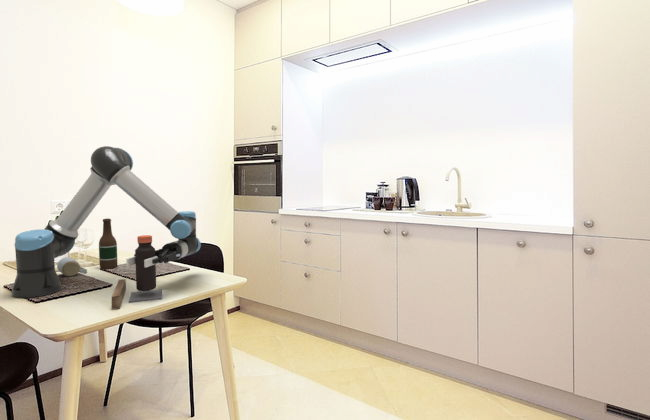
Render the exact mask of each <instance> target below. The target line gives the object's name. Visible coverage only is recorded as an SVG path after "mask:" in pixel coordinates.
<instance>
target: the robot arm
mask: <svg viewBox="0 0 650 420" xmlns="http://www.w3.org/2000/svg"><path fill="white" fill-rule="evenodd" d="M90 163H91V164H90V165H91V167H90V173H91V174H90V175H89V177H88V178H87V179H86V180H85V182H84V183H83V184H82V186H81V187H80V188H79V189H78V191H77V192H76V194H75V195H74V196H73V197H72V199H71V200H70V201H69V202H68V204H67V206H66V207H65V208H64V209H63V211H62V212H61V213H60V214H59V216H58V217H57V219H54V220H50V221H49V222H48V223H47V225H46V226H45V227H44V229H43V228H42V229H32V230H26V231H22V232H20V233H18V234H16V236H15V239H14V249H15V250H14V251H15V264H16V265H15V266H16V277H15V280H14V282H13V285H12V288H11V295H12V297H14V298H22V299H23V298H24V299H25V298H37V297H36V296H38V297H43V295H44V296H47V294H48V295H51V293H52V294H55V293H57V292H59V291H60V290H62V283H61V281H60V278H59V276H58V273H57V271H56V267H55V266H56V265H55V259H56V258H58V257H62V256H64V255H66V254H68V253H69V252H70V251H71V250H72V249H73V248H74V246H75V245H76V239H77V238H78V237H79V232H78V230H79V229H80V227H81V226H82V225H83V224H84V222H85V221H86V220H87V218H88V217H89V215H91V213H92V212H93V210H94V209H95V208H96V206H97V205H98V204H99V203H100V201H101V200H102V199H103V197H104V196H105V195H106V193H107V192H108V190H109V189H110V188H111V186H117V187H118V188H120V189H121V190H122V191H123V192H125V194H127V195H128V196H129V197H130V198H131V199H133V200H134V201H135V202H136V203H138V204H139V205H140V206H141V207H142V208H143V209H144V210H146V211H147V212H148V213H149V214H150V215H151V216H153V217H154V218H155V219H156V220H157V221H158V222H159V223H161V224H162V225H163V226H164V227H166V229H168V230H169V232H170V234H171V236H172V237H173V238H175V239H177V240H176V241H172V242H169V243H165V244H164V245H163V246H162V247H161V248H159V249H155V257H152V258H149V259H146V260H144V267H149V266H152V265H155V264H156V265H157V264H162V263H164V264H167V263H169V262H174V261H177V260H178V261H179V260H180V259H181V258H184V257H187V256H191V255H194V254H196V253H197V252H198V251H200V249H201V246H202V244H201V240H200V239H199V238H198V237H197V216H196V212H195V211H190V210H189V211H188V210H186V211H179V212H178V211H177V210H176V209H175V208H174V207H173V206H171V205H170V204H169V203H168V202H167V201H166V200H165V199H164V198H163V197H162V196H160V195H159V194H158V193H156V192H155V191H154V190H153V189H152V188H151V187H150V186H149V185H147V184H146V183H145V182H144V181H143V180H142V179H141V178H140V177H139V176H137V175H136V174H135V173H134V172H133V171H132V169H133V167H134V166H133V165H134V161H133V158H132V156H131V155H130V153H129V152H128V151H126V150H124V149H123V148H120V147H113V146H108V145H107V146H106V145H104V146H100V147H98V148H96V149H95V150H94V151H93V152H92V154H91V156H90ZM125 260H126V266H127V267H130V266H133V265H136V262H135V253H134V254H133V256H131V257H128V258H126V259H125ZM54 292H55V293H54Z"/></svg>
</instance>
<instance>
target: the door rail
mask: <svg viewBox="0 0 650 420" xmlns="http://www.w3.org/2000/svg"><path fill="white" fill-rule="evenodd" d="M126 291H127V279H126V278H125V279H124V278H123V279H118V281H117V283H116V285H115V288H114V289H113V292H112V294H111V310H118V309H119V310H120V309H121V307H122V306H121V305H122V304H123V300H124V297H125V294H126V293H127V292H126Z"/></svg>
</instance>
